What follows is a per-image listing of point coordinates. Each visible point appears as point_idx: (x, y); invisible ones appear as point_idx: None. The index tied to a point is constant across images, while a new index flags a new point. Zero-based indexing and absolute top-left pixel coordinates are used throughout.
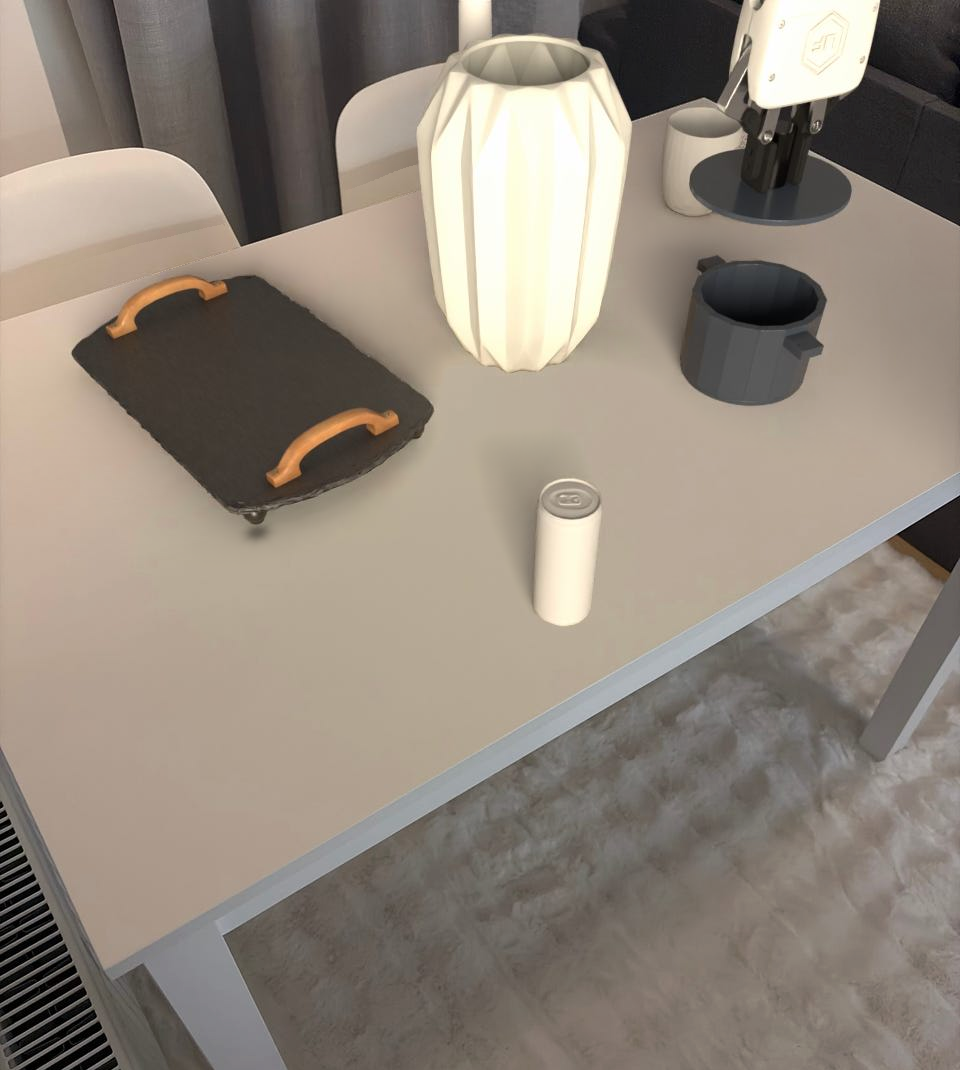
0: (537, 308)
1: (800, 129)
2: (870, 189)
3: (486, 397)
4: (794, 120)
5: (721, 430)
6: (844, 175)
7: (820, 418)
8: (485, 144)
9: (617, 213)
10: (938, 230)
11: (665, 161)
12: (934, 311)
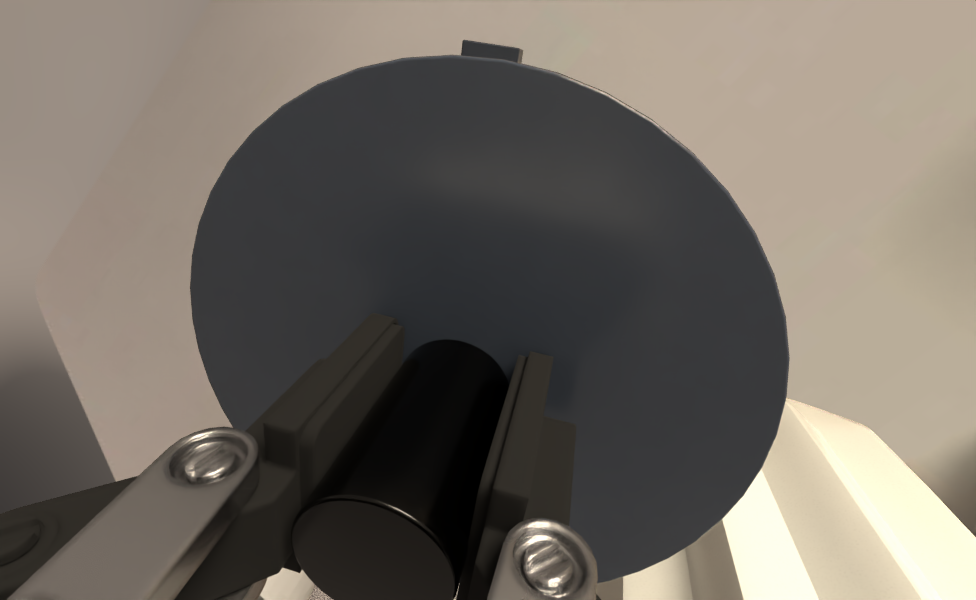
0: (881, 473)
1: (287, 494)
2: (85, 401)
3: (887, 397)
4: (276, 558)
5: (649, 101)
6: (195, 260)
7: (480, 24)
8: None
9: None
10: (47, 288)
11: (313, 587)
12: (146, 147)
